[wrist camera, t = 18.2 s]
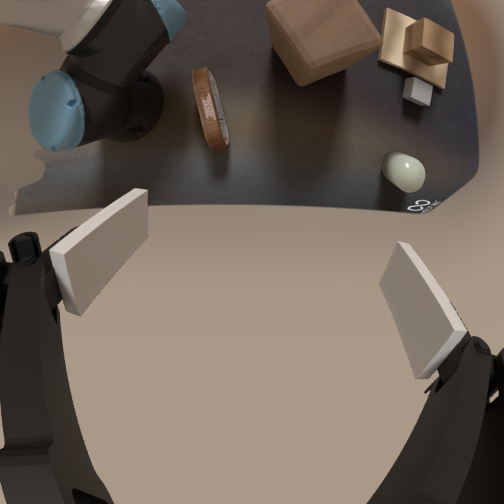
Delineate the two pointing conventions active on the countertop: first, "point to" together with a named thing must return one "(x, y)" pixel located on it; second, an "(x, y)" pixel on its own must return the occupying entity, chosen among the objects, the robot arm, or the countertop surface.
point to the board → (394, 50)
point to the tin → (210, 109)
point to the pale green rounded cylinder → (403, 171)
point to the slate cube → (417, 91)
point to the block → (320, 36)
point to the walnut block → (428, 43)
